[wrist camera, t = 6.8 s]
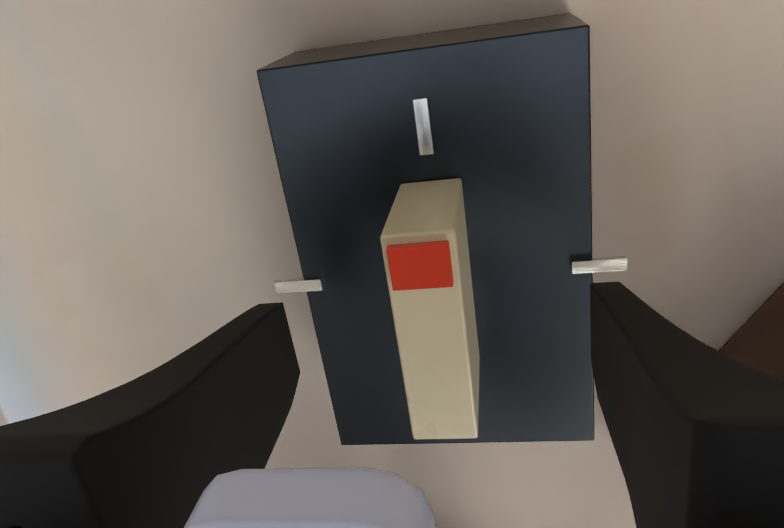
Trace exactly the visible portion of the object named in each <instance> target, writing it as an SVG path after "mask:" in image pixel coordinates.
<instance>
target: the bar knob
mask: <svg viewBox="0 0 784 528" xmlns="http://www.w3.org/2000/svg"><path fill="white" fill-rule="evenodd" d="M380 240H381V246H382V253H383V259H384V265H385V271H386V277H387V283H388V289H389V295H390V301H391V307H392V313H393V319H394V325H395V331H396V337H397V343H398V349H399V355H400V361H401V367H402V373H403V379H404V385H405V392H406V398H407V404H408V410H409V416H410V422H411V428H412V434H413V438H414V439H463V438H477V437H478V413H479V362H480V356H479V346H478V336H477V326H476V317H475V307H474V297H473V287H472V277H471V267H470V258H469V248H468V238H467V228H466V218H465V209H464V199H463V189H462V180H461V179H459V178H457V179H446V180H436V181H426V182H415V183H405V184H401V185H400V187H399V190H398V192H397V195H396V197H395V200H394V203H393V205H392V208H391V210H390V213H389V216H388V218H387V221H386V223H385V226H384V228H383V231H382V234H381V236H380Z"/></svg>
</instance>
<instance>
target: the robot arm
mask: <svg viewBox="0 0 784 528" xmlns="http://www.w3.org/2000/svg"><path fill="white" fill-rule="evenodd" d="M590 331H591V364H592V369H593V375H594V380H595V386H596V391H597V396H598V400H599V403H600V406H601V409H602V412H603V415H604V418H605V421H606V424H607V427H608V430H609V433H610V436H611V439H612V442H613V445H614V448H615V450H616V453H617V456H618V459H619V462H620V465H621V468H622V471H623V474H624V477H625V481H626V484H627V488H628V491H629V495H630V499H631V504H632V508H633V513H634V517H635V522H636V527H637V528H784V379H781V378H778V377H775V376H773V375H770V374H768V373H765V372H763V371H760V370H758V369H755V368H753V367H750V366H748V365H746V364H743V363H741V362H739V361H737V360H735V359H732V358H731V357H729V356H727V355H725V354H723V353H721V352H719V351H717V350H715V349H713V348H711V347H709V346H707V345H706V344H704V343H702V342H700V341H699V340H697V339H695V338H694V337H692V336H691V335H689V334H688V333H686V332H684V331H683V330H681V329H680V328H678V327H677V326H675V325H674V324H672V323H671V322H670V321H668V320H667V319H665V318H664V317H663V316H661V315H660V314H659V313H657V312H656V311H655V310H653V309H652V308H651V307H649V306H648V305H647V304H646V303H644V302H643V301H642V300H641V299H639V298H638V297H637V296H636V295H635V294H633V293H632V292H631V291H630V290H629V289H627V288H626V287H625V286H624V285H623V284H621V283H620V282H604V283H590ZM299 375H300V370H299V366H298V362H297V358H296V354H295V350H294V346H293V342H292V338H291V334H290V330H289V326H288V322H287V317H286V313H285V309H284V305H283V303H269V304H259V305H257V306H254V307H253V308H251V309H249V310H247V311H246V312H244V313H243V314H241V315H239V316H238V317H236V318H235V319H233V320H232V321H230V322H229V323H227V324H226V325H224V326H223V327H221V328H220V329H218V330H217V331H215V332H214V333H212V334H211V335H209V336H208V337H206V338H205V339H203V340H202V341H200V342H199V343H197V344H196V345H194V346H192V347H191V348H189V349H188V350H186V351H184V352H183V353H181V354H179V355H178V356H176V357H175V358H173V359H171V360H170V361H168V362H166V363H165V364H163V365H161V366H159V367H157V368H156V369H154V370H152V371H150V372H148V373H146V374H144V375H142V376H140V377H138V378H136V379H134V380H132V381H130V382H128V383H126V384H123V385H121V386H119V387H116V388H114V389H112V390H109V391H107V392H104V393H102V394H100V395H97V396H95V397H93V398H90V399H88V400H85V401H82V402H80V403H77V404H74V405H71V406H68V407H66V408H62V409H59V410H56V411H53V412H50V413H47V414H44V415H40V416H37V417H34V418H30V419H26V420H22V421H19V422H15V423H11V424H7V425H3V426H0V528H435V521H434V515H433V511H432V509H431V507H430V505H429V503H428V501H427V499H426V498H425V496H424V494H423V492H422V490H421V489H419V488H418V487H416V486H415V485H413V484H412V483H410V482H409V481H407V480H406V479H404V478H403V477H401V476H400V475H398V474H397V473H392V472H387V471H382V470H377V469H371V468H288V469H264V468H265V466H266V464H267V462H268V459H269V457H270V455H271V452H272V450H273V448H274V446H275V443H276V441H277V439H278V437H279V434H280V432H281V430H282V427H283V425H284V423H285V420H286V418H287V416H288V413H289V411H290V408H291V406H292V402H293V398H294V395H295V391H296V387H297V383H298V379H299Z"/></svg>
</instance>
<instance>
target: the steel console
mask: <svg viewBox="0 0 784 528" xmlns="http://www.w3.org/2000/svg"><path fill="white" fill-rule="evenodd" d="M257 76H258V80H259V84H260V89H261V93H262V98H263V102H264V106H265V111H266V115H267V120H268V124H269V128H270V133H271V137H272V142H273V146H274V150H275V155H276V159H277V164H278V168H279V172H280V177H281V181H282V186H283V190H284V194H285V199H286V203H287V207H288V212H289V216H290V221H291V225H292V229H293V234H294V238H295V243H296V247H297V251H298V256H299V260H300V265H301V269H302V273H303V278H304V279H291V280H277V281H275V282H274V287H275V291H276V294H278V293H294V292H307V295H308V300H309V304H310V309H311V313H312V317H313V322H314V326H315V331H316V335H317V339H318V344H319V348H320V352H321V357H322V361H323V366H324V370H325V374H326V379H327V383H328V388H329V392H330V396H331V401H332V405H333V410H334V414H335V418H336V423H337V427H338V432H339V436H340V440H341V444H342V445H369V444H423V443H477V442H531V441H585V440H594V375H593V369H592V364H591V331H590V283H593V278H592V273H596V272H611V271H626V270H627V257H626V256H619V257H605V258H592V191H591V104H590V27H589V25H588V24H586V23H585V22H583V21H582V20H580V19H579V18H577V17H575V16H574V15H572V14H571V13H567V14H560V15H553V16H546V17H539V18H532V19H525V20H517V21H510V22H503V23H496V24H489V25H482V26H475V27H468V28H461V29H454V30H446V31H439V32H432V33H425V34H418V35H411V36H404V37H397V38H390V39H382V40H375V41H368V42H361V43H354V44H347V45H340V46H333V47H326V48H319V49H311V50H304V51H297V52H294V53H292V54H290V55H288V56H286V57H283V58H281V59H279V60H277V61H275V62H273V63H271V64H269V65H267V66H265V67H263V68H261V69H258V70H257ZM457 178H459V179H461V180H462V189H463V199H464V209H465V218H466V228H467V238H468V248H469V258H470V267H471V277H472V287H473V297H474V307H475V317H476V326H477V336H478V346H479V356H480V362H479V413H478V437H477V438H463V439H414V438H413V434H412V428H411V422H410V416H409V410H408V404H407V398H406V392H405V385H404V379H403V373H402V367H401V361H400V355H399V349H398V343H397V337H396V331H395V325H394V319H393V313H392V307H391V301H390V295H389V289H388V283H387V277H386V271H385V265H384V259H383V253H382V246H381V240H380V236H381V234H382V231H383V228H384V226H385V223H386V221H387V218H388V216H389V213H390V210H391V208H392V205H393V203H394V200H395V197H396V195H397V192H398V190H399V187H400V185H401V184H405V183H415V182H426V181H436V180H446V179H457Z"/></svg>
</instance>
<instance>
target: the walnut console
mask: <svg viewBox="0 0 784 528" xmlns="http://www.w3.org/2000/svg"><path fill="white" fill-rule="evenodd" d="M719 352H721V353H723V354H725V355H727V356H729V357H731V358H732V359H735V360H737V361H739V362H741V363H743V364H746V365H748V366H750V367H753V368H755V369H758V370H760V371H763V372H765V373H768V374H770V375H773V376H775V377H778V378H781V379H784V284H783V285H782V286H781V287H780V288H779V289H778V290H777V291H776V292H775V293H774V294H773V295H772V297H771V298H770V299H769V300H768V301H767V302H766V303H765V304H764V305H763V306H762V307H761V308H760V309H759V310H758V311H757V312H756V313H755V314H754V315H753V317H752V318H751V319H750V320H749V321H748V322H747V323H746V324H745V325H744V326H743V327H742V328H741V329H740V330H739V331H738V332H737V333H736V334H735V336H734V337H733V338H732V339H731V340H730V341H729V342H728V343H727V344H726V345H725V346H724V347H723V348H722V349H721V350H720V351H719Z"/></svg>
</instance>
